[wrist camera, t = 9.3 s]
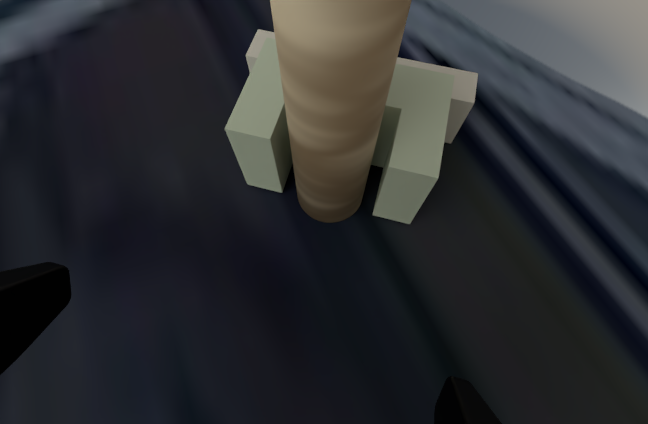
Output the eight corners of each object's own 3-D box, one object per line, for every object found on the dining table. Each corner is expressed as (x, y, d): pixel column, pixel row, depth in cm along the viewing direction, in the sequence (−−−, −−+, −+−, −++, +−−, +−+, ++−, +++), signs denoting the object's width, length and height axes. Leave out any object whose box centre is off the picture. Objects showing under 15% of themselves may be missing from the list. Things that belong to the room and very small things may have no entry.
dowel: (302, 227, 19) (269, -15, 7) (293, 169, 20) (251, -118, 8) (369, 216, 19) (450, -35, 7) (355, 159, 20) (403, -131, 8)
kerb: (450, 143, 21) (474, 103, 18) (256, 100, 22) (245, 55, 19) (454, 116, 22) (478, 73, 18) (267, 76, 23) (258, 29, 20)
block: (409, 224, 19) (438, 178, 14) (247, 184, 20) (224, 128, 15) (425, 139, 21) (454, 75, 16) (278, 107, 22) (266, 37, 17)
